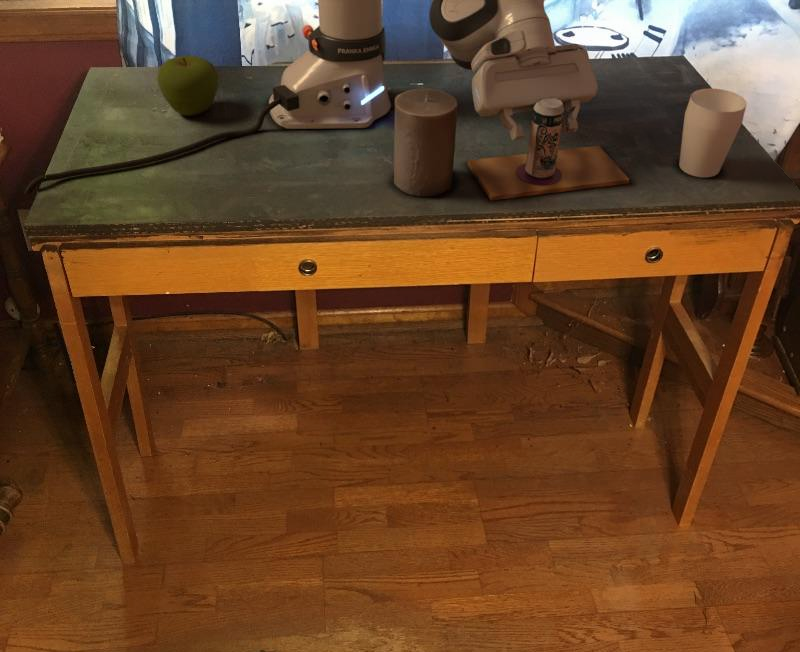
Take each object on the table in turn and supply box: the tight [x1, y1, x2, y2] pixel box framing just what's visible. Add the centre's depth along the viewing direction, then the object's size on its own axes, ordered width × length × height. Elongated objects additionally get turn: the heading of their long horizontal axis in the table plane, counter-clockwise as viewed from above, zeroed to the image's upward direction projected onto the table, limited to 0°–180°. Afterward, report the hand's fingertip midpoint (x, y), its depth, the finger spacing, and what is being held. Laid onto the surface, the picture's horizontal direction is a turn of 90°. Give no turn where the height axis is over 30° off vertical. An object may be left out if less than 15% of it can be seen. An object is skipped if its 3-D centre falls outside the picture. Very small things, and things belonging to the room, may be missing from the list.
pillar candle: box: [393, 88, 458, 198], centre depth 135 cm, size 10×10×15 cm
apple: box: [157, 55, 219, 117], centre depth 153 cm, size 11×10×10 cm
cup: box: [678, 87, 747, 178], centre depth 141 cm, size 9×9×12 cm
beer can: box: [526, 97, 565, 178], centre depth 137 cm, size 5×5×12 cm
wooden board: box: [467, 145, 630, 201], centre depth 142 cm, size 24×12×1 cm, turn 105°
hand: (545, 134), depth 136 cm, fingers open, 8 cm apart
